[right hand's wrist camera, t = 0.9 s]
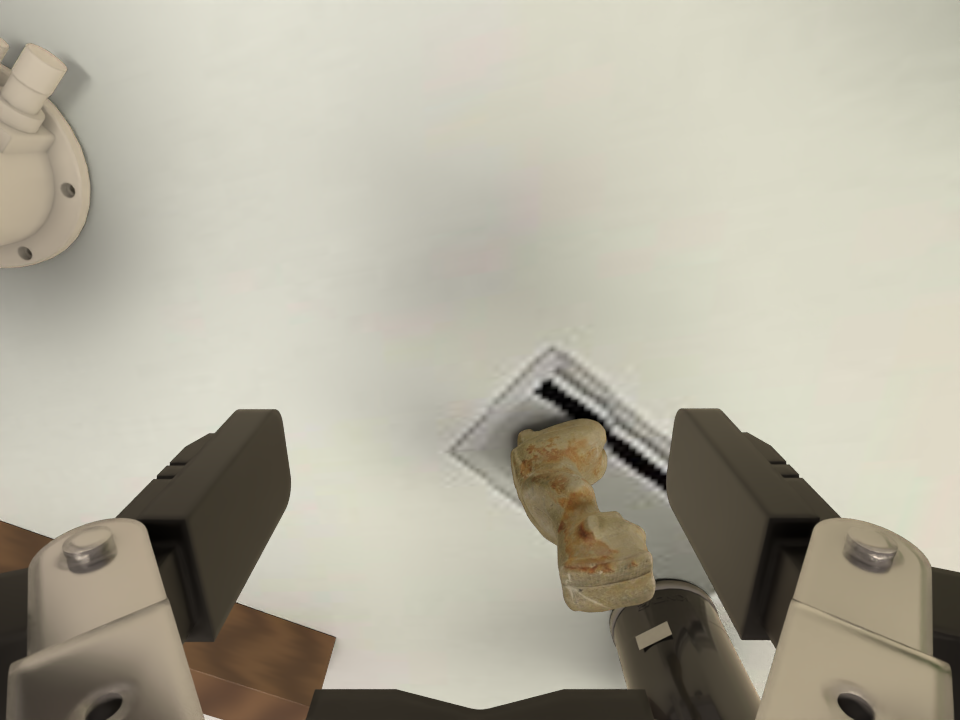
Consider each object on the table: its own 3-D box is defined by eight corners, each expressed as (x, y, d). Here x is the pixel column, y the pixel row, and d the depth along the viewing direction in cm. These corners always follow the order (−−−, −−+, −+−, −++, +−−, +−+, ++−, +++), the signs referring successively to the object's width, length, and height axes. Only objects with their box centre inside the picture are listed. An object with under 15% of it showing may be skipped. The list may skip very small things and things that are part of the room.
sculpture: (603, 470, 43) (664, 627, 29) (512, 479, 43) (529, 639, 29) (601, 404, 41) (666, 540, 27) (505, 414, 41) (520, 554, 27)
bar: (336, 637, 50) (316, 709, 44) (318, 669, 51) (296, 742, 45) (-306, 414, 41) (-447, 464, 35) (-305, 460, 42) (-439, 516, 36)
